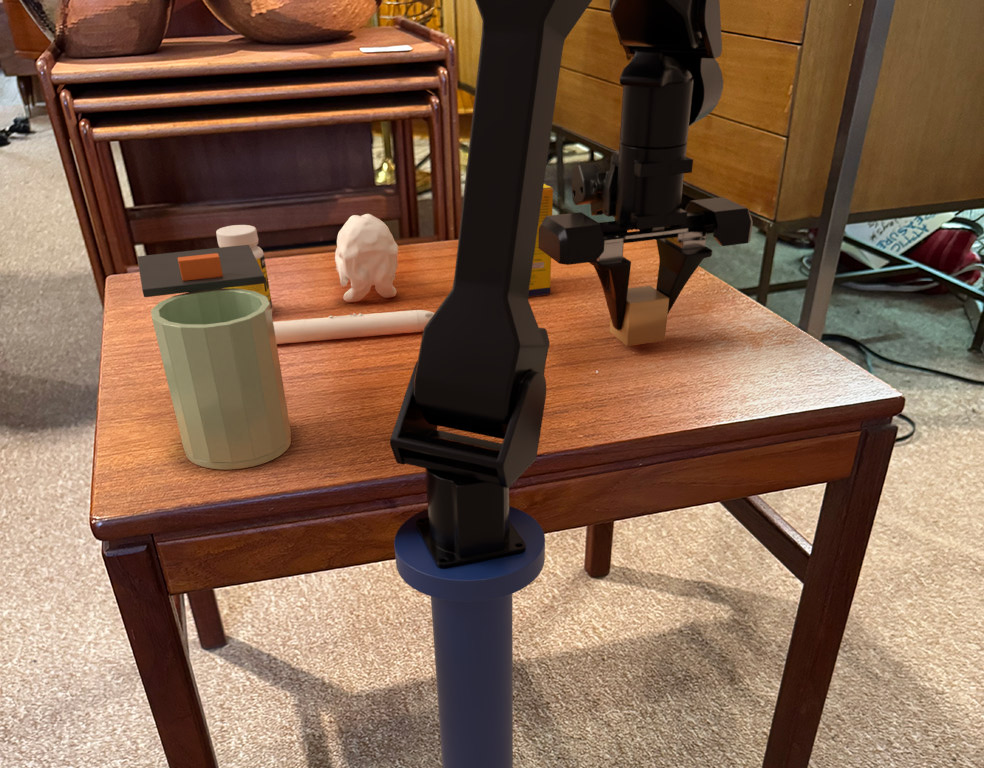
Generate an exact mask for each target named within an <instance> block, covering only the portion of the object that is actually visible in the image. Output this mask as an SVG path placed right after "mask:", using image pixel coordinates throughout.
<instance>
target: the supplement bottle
mask: <svg viewBox="0 0 984 768" xmlns="http://www.w3.org/2000/svg"><path fill="white" fill-rule="evenodd" d="M215 233H216V240H217V244H218V248H221V247H230V246H240V245H249V246H250V248H251V250H252V252H253V254H254V256H255V258H256V260H257V262H258V264H259V266H260V268H261V270H262V272H263V274H264V277H265V283H264V284H255V285H247V286H238V287H230V288H228V289H243V290H250V291H255V292H258V293H260V294H262V295H264V296H266V297H267V298H268V300H269V303H270V306H271V312H272V313H273V310H274V309H273V301H272V296H271V290H270V283H269V277H268V271H267V263H266V258H265V253H264V251H263V249H262V248H261V247H260V246H258V245H259V235H258V230H257V228H256V227H255V226H253V225H249V224H233V225H232V224H231V225H227V226H223V227H220V228H218V229H217V230H216V232H215Z"/></svg>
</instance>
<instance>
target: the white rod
mask: <svg viewBox="0 0 984 768" xmlns="http://www.w3.org/2000/svg"><path fill="white" fill-rule="evenodd" d="M434 314H435V312H433V311H430V310H425V309H413V310H400V311H388V312H376V313H375V312H374V313H373V312H371V313H365V314H364V313H361V312H359V313H358V314H356V312H355V313H354V312H353V313H352V314H351V313H349V314H348V315H337V316H336V315H334V316H333V315H328V317H316V318H315V317H314V318H302V319H301V318H300V319H291V320H280V321H273V325H274V331H275V337H276V343H277V345H283V344H294V343H305V342H319V341H328V340H339V339H340V340H342V339H353V338H354V339H355V338H363V337H364V338H366V337H375V336H386V335H388V336H389V335H398V334H399V335H400V334H410V333H413V334H414V333H421V332H423V330H424V328H425V326H426V325H427V323H428V322H429V320H430V319H431V318H432V316H433V315H434Z"/></svg>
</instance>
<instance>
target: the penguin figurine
mask: <svg viewBox="0 0 984 768" xmlns="http://www.w3.org/2000/svg"><path fill="white" fill-rule="evenodd" d="M336 246H337V247H336V248H335V252H334V253H335V254H334V262H335V268H334V270H335V271H336V272H337V274H338V276H339V282H340V283H339V284H340V286H341V287H346V286H347V285H348V283H350V286H351V287H350V288H349V289H348V290H347V291H346V292H345V293H344V294H343V296H342V299H343V301H345V303H356V302H360V301H361V300H363V299H364V298H365V296H366V295H368V293H370V291H371V289H372V288H371V287H372V286H374V290H375V292H376V293H377V294H378V295H379V296H381V297H382V298H384V299H387V298H393V297H396V295H397V292H398V291H397V289H396V287H395V286H394V284H393V283H394V280H395V279H396V275H397V274H396V272H397V270H398V266H399V265H398V262H399V261H398V260H399V259H398V256H399V255H398V254H399V246H398V244H397V242H396V241H395V239H394V236H393V234H392V232H391V231H390V228H389V227H388V225H386V223H385V222H383V221H382V220H381V219H380V218H379V217H376V216H374V215H373V214H371V213H365V214H362V215H358V214H353V215H351V216H350V217H348V219H347V221H346V222H345V223H344V224H343V226H342V227H341V228H340V230H339V231H338V234H337V237H336Z"/></svg>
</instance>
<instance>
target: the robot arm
mask: <svg viewBox="0 0 984 768" xmlns="http://www.w3.org/2000/svg"><path fill="white" fill-rule="evenodd" d="M474 1H475V4H476V6H477V9H478V12H479V15H480V18H481V21H482V23H481V24H482V25H481V38H480V47H479V56H478V63H477V73H476V80H475V81H476V82H475V90H474V99H473V108H472V118H471V125H470V135H469V143H468V152H467V162H466V169H465V170H466V171H465V180H464V187H463V197H462V205H461V206H462V207H461V214H460V223H459V232H458V242H457V251H456V260H455V268H454V269H455V270H454V275H453V276H454V277H453V283H452V288H451V290H450V291H449V293H448V295H447V296H446V297H445V298H444V300H443V301H442V302H441V304H440V305H439V307H438V308H437V309H436V311H435V312H434V313H435V314H434V315H433V316H432V318H431V319H430V320H429V322H428V323H427V325H426V326H425V328H424V330H423V331H422V336H421V340H420V346H419V347H420V348H419V351H418V358H417V360H416V361H415V365H414V367H413V371H412V373H411V376H410V378H409V381H408V385H407V387H406V391H405V394H404V397H403V400H402V403H401V406H400V409H399V412H398V415H397V418H396V421H395V424H394V427H393V430H392V434H391V436H390V439H389V444H390V448H391V451H392V454H393V456H394V459H395V463H396V464H399V465H403V466H404V465H410V466H414V467H419V468H423V469H424V471H425V484H426V485H425V486H426V487H425V489H426V500H427V501H426V504H427V509H428V517H423V518H419V519H417V520H416V521H415V524H416V529H417V531H418V532H419V534H420V536H421V538H422V540H423V542H424V544H425V545H426V547H427V549H428V551H429V553H430V555H431V557H432V559H433V560H434V562H435V564H436V566H437V567H438V568H440V569H448V568H453V567H458V566H463V565H468V564H473V563H478V562H483V561H488V560H493V559H498V558H503V557H508V556H513V555H518V554H522V553H524V552H525V551H526V544H525V543H524V541H523V540H522V538H521V537H520V535H519V534H518V533H517V531H516V530H515V528H514V527H513V525H512V524H511V523H510V521H509V506H510V488H511V486H513V484H514V483H515V482H516V481H517V480H518V479H519V478H520V477H521V476H522V475H523V474H524V472H526V471H527V470H528V468H529V467H531V465H533V463H534V462H535V461H536V460H537V457H538V450H539V444H540V439H541V430H542V424H543V417H544V412H545V406H546V401H547V399H546V398H547V380H546V377H545V370H546V365H547V364H546V363H547V358H548V353H549V350H550V344H551V343H550V338H549V335H548V331H547V329H546V328H545V327H539V325H538V322H537V319H536V317H535V315H534V312H533V310H532V307H531V304H530V301H529V297H528V295H529V286H530V279H531V272H532V265H533V257H534V250H535V243H536V236H537V229H538V222H539V215H540V207H541V200H542V193H543V186H544V184H545V179H546V172H547V171H546V170H547V165H548V164H547V163H548V159H549V157H548V156H549V149H550V143H551V135H552V128H553V121H554V115H555V107H556V100H557V92H558V85H559V79H560V73H561V72H560V71H561V65H562V58H563V50H564V45H565V41H566V39H567V37H568V36H569V34H570V33H571V32H572V30H573V29H574V27H575V26H576V25H577V23H578V21H579V20H580V18H581V17H582V16H583V15H584V13H585V12H586V10H587V9H588V7H589V6H590V4H591V3H592V2H593V0H474ZM609 11H610V18H611V19H612V20H611V21H612V24H613V27H614V29H615V33H616V34H617V35H616V36H617V38H618V42H619V45H620V46H622V48H623V50H624V53H625V54H626V56H633V57H632V59H631V61H630V62H629V63H628V64H627V65H626V66H625V67H624V68H623V69H622V71H621V74H620V76H619V85H620V86H621V87H622V96H621V97H622V98H621V113H620V128H619V129H620V131H619V145H618V150H613V151H612V154H611V157H610V167H609V170H608V171H607V170H606V171H600V169H599V166H598V164H597V163H595V162H593V163H582V164H577V165H575V166H573V167H572V178H571V195H572V202H573V204H574V205H575V206H580V205H590V214H591V216H594V217H595V216H602V215H605V216H606V217H608V218H609V217H613V218H614V220H611V221H602V222H598V221H596V220H594V219H593V218H592V217H590V216H588V215H586V214H585V213H583V212H580V211H578V212H571V213H561V214H552V215H551V216H546V217H545V219H544V220H543V222H542V224H541V226H540V228H539V249H540V250H542V251H543V252H544V253H546V254H547V255H548V256H550V257H551V260H554V261H555V262H556V263H557V264H559V265H566V266H571V265H578V264H579V265H580V264H586V263H587V264H588V263H589V264H590V265H591V266H593V267H594V269H595V272H596V274H597V277H598V279H599V281H600V284H601V288H602V292H603V295H604V298H605V302H606V306H607V309H608V313H609V317H611V320H612V324H613V327H614V328H615V329H617V330H621V328H622V324H623V320H624V316H625V310H626V301H627V293H628V288H629V284H630V277H631V276H630V275H631V268H632V267H631V266H632V261H631V260H629V259H628V258H626V257H625V256H624V246H625V245H624V244H628V243H629V244H631V243H639V242H648V241H656V247H657V253H658V258H659V262H658V263H659V264H658V271H657V279H656V288H655V289H656V290H658V291H659V292H661V293H662V294H664V295H665V296H667V297H668V298H669V305H668V314H669V313H670V311H671V310H672V308H673V306H674V304H675V303H676V301H677V299H678V298H679V296H680V294H681V292H682V291H683V289H684V288H685V286H686V285H687V283H688V281H689V280H690V279H691V277H692V276H693V274H694V273H695V272H696V270H697V269H698V267H699V266H700V264H701V263H702V262H703V260H704V259H708V258H711V257H712V255H713V249H712V248H710V247H708V246H706V240H707V235H709V234H713V235H712V237H713V238H714V240H715V241H716V242H717V243H718V244H719V246H721V247H728V246H736V245H744V244H749V243H750V242H751V238H752V231H753V225H754V222H753V218H752V215H751V212H750V210H749V209H748V207H745V206H743V205H741V204H739V203H737V202H734V201H732V200H730V199H728V198H726V197H723V196H721V197H710V198H703V199H702V198H701V199H693V200H690V201H689V203H688V204H687V205H686V206H685V208H684V209H683V208H682V207H681V206H682V197H683V189H684V177H685V174H693V165H694V159H693V158H691V157H689V156H687V150H688V139H689V129H690V126H692V125H693V124H696V123H697V122H699V121H700V120H702V119H704V118H706V117H708V115H710V114H711V113H712V112H714V109H715V108H716V107H717V106H718V104H719V101H720V99H721V97H722V94H723V90H724V78H723V72H722V69H721V66H720V64H719V62H718V61H717V58H719V57H721V55H722V52H723V38H722V37H723V36H722V23H721V6H720V0H609ZM633 230H634V231H633ZM438 427H442V428H448V429H451V430H456V431H457V430H458V431H461V432H466V433H471V434H476V435H481V436H485V437H490V438H496V439H501V440H503V441H502V442H498V441H497V442H496V441H492V440H487V439H483V438H479V437H472V436H468V435H462V434H457V433H453V432H448V431H445V430H444V431H443V430H439V429H438Z"/></svg>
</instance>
